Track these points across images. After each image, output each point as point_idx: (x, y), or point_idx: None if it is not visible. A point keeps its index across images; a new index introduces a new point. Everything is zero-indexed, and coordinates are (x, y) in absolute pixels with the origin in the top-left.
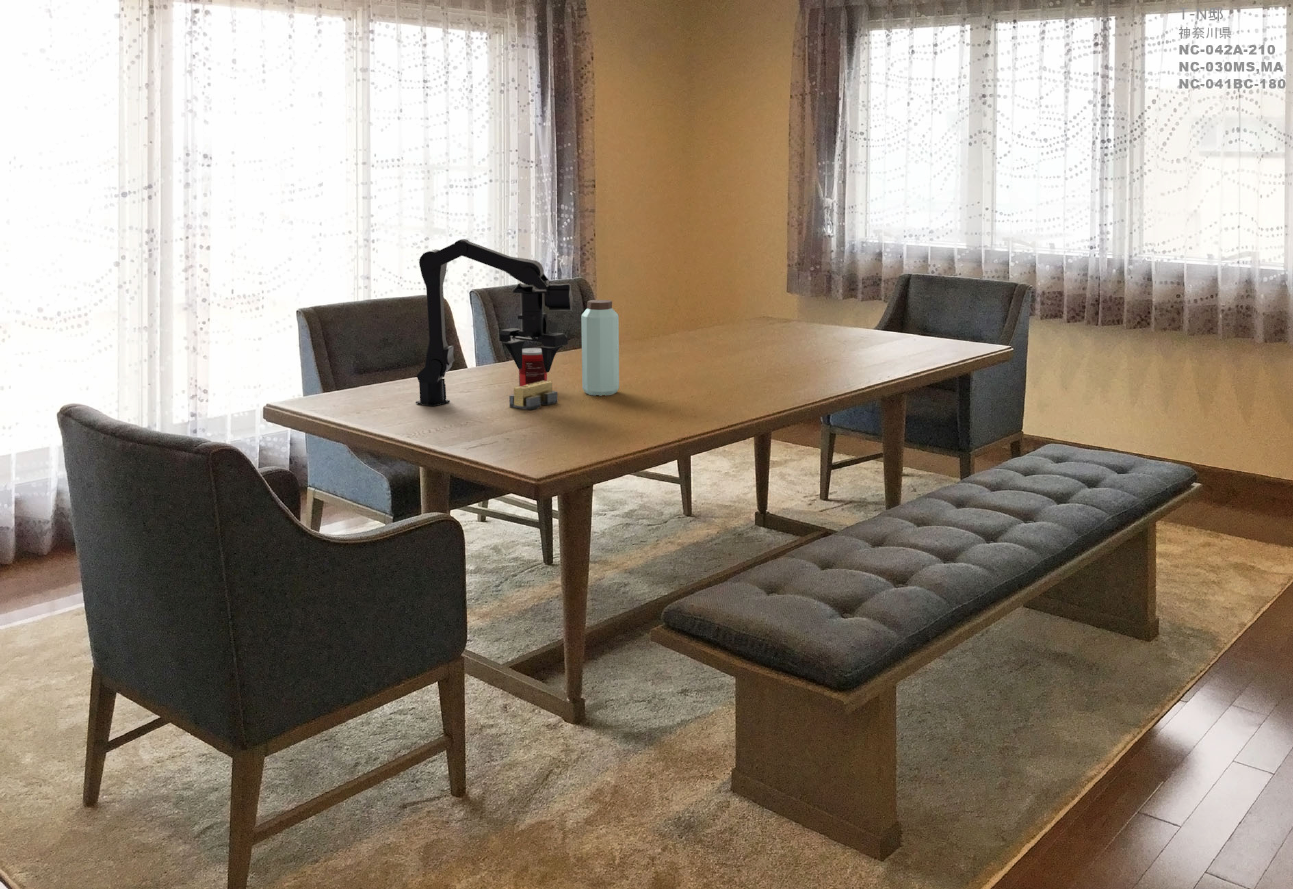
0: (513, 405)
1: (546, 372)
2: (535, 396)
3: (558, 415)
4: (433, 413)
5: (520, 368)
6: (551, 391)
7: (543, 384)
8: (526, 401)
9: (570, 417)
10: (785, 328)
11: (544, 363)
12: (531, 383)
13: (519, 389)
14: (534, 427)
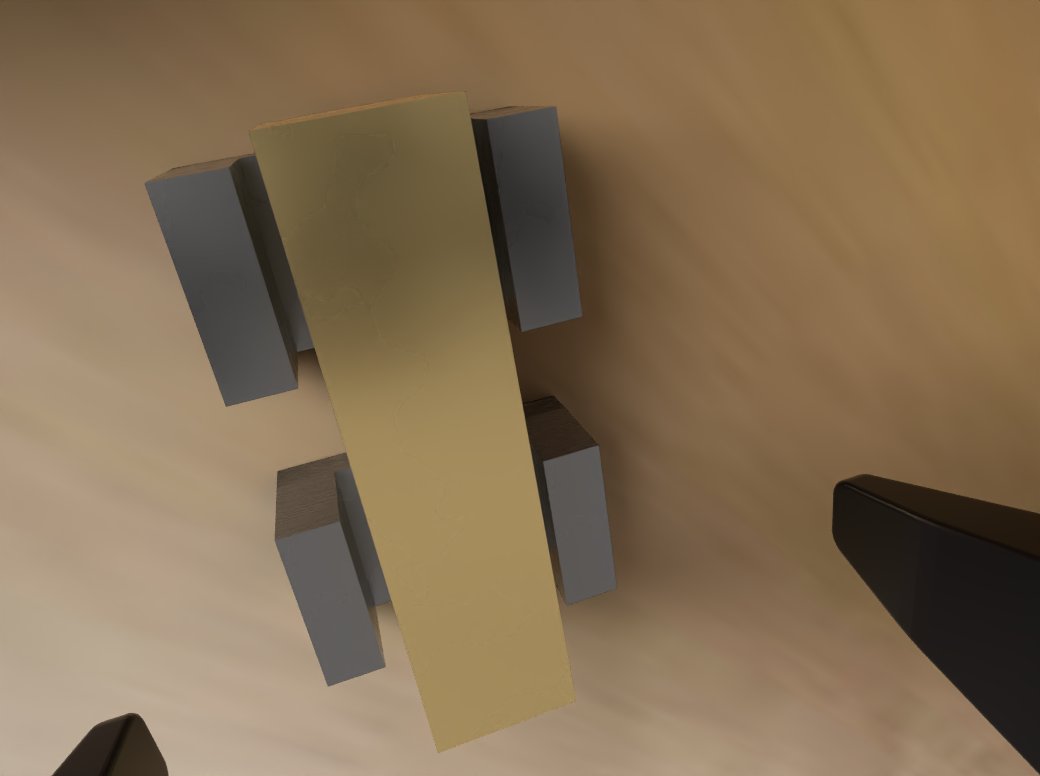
0: (375, 598)
1: (843, 533)
2: (578, 496)
3: (864, 450)
4: None
5: (152, 748)
6: (495, 165)
7: (507, 327)
8: (555, 581)
9: (966, 420)
10: None
11: (1008, 715)
12: (346, 448)
13: (524, 712)
14: (924, 719)
